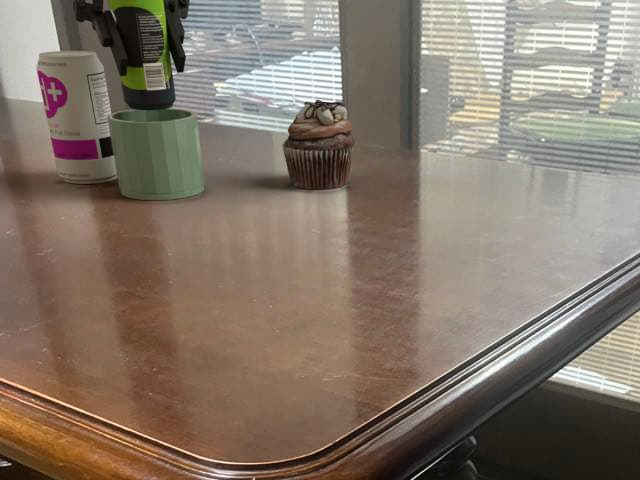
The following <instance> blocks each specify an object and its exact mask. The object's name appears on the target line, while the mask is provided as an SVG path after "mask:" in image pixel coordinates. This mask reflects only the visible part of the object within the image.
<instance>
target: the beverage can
mask: <svg viewBox="0 0 640 480" xmlns="http://www.w3.org/2000/svg"><path fill="white" fill-rule="evenodd" d="M107 2H108V7H109V10H111V13H112V15H113V18H114V21H115V24H116V27H117V30H118V33H119V35H120V38H121V41H122V44H123V47H124V50H125V53H126V56H127V59H128V62H127V75H126V76H120V75H119V78H120V83H121V89H122V96H123V101H124V103H126V104H127V106H128V107H129V109H130V110H132V109H135V110H162V109H168V108H173V106H174V103H175V102H176V99H177V98H176V90H175V89H176V88H175V81H174V74H173V65H172V56H171V53H170V49H169V42H168V34H167V26H166V18H165V10H164V2H163V0H108V1H107Z"/></svg>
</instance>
